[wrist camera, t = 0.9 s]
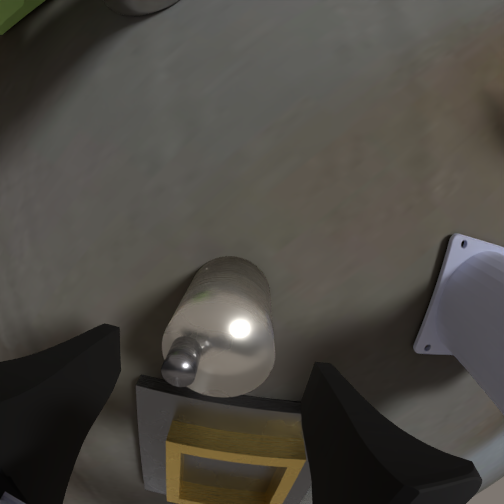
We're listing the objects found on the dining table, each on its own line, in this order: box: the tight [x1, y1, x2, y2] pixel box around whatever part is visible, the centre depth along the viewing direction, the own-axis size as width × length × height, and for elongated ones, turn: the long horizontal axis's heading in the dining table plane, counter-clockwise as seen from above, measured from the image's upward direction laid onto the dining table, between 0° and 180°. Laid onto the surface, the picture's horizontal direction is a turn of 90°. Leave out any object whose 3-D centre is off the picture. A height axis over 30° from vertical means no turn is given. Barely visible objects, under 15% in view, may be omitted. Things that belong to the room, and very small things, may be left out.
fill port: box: [136, 375, 312, 504], centre depth 20 cm, size 14×14×3 cm
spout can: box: [161, 256, 275, 397], centre depth 14 cm, size 4×4×8 cm
